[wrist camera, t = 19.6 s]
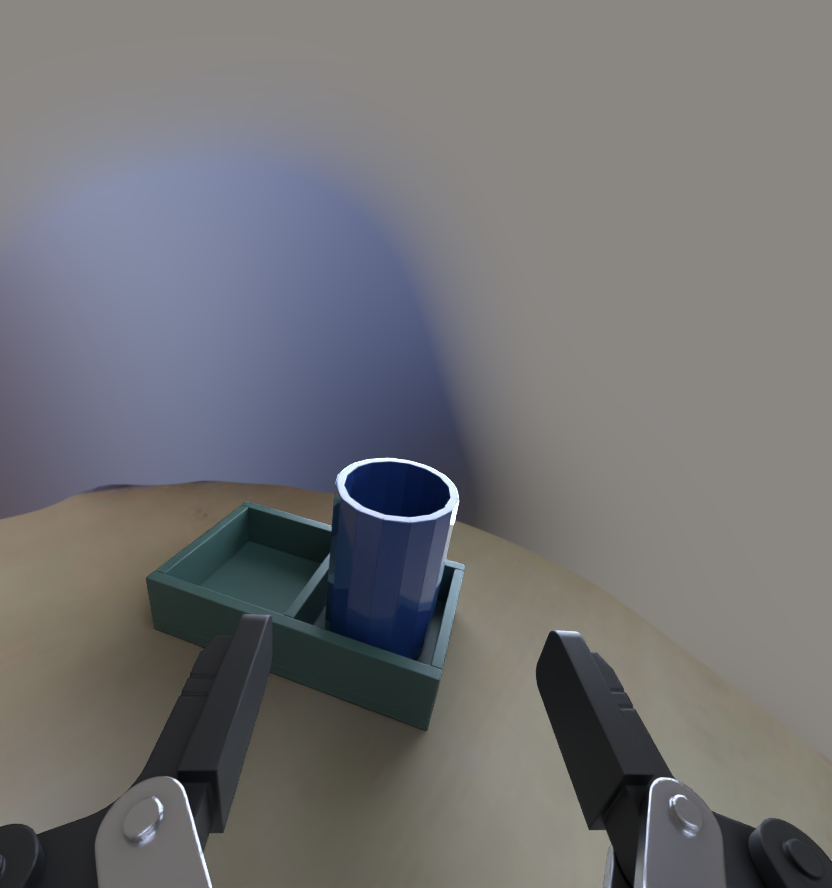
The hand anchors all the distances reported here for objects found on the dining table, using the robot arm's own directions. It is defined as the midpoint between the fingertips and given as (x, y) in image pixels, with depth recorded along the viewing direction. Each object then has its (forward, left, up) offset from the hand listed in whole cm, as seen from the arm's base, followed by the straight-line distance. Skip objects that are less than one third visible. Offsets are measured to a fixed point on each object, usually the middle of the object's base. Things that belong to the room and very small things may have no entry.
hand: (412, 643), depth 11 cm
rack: (0, -11, -11) cm, 16 cm away
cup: (-3, -9, -10) cm, 14 cm away
